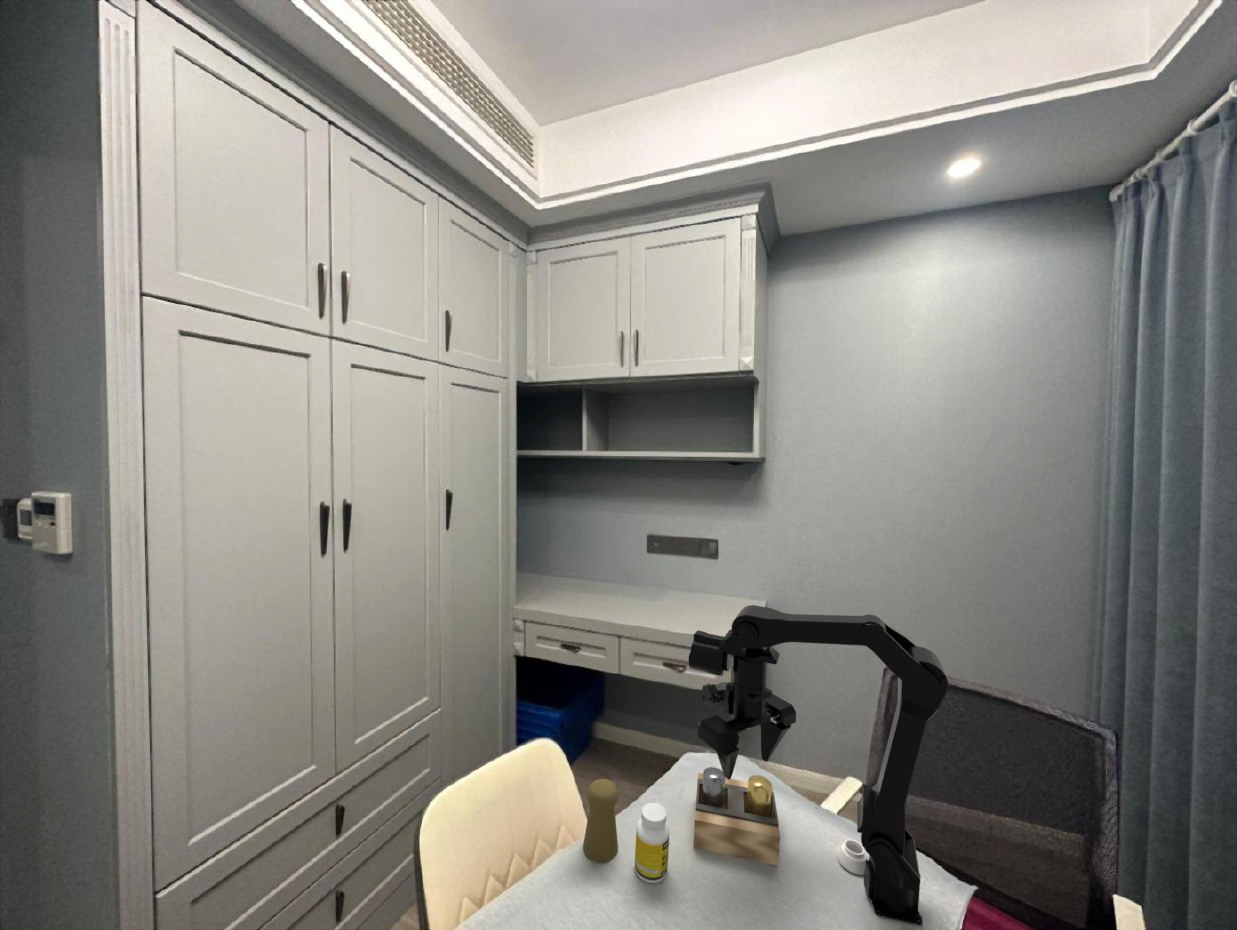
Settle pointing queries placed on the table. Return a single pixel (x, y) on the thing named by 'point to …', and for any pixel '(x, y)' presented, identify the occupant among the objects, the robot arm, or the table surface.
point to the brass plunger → (759, 795)
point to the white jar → (852, 856)
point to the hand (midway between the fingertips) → (746, 769)
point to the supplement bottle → (652, 844)
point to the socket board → (736, 826)
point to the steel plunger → (713, 787)
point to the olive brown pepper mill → (601, 822)
